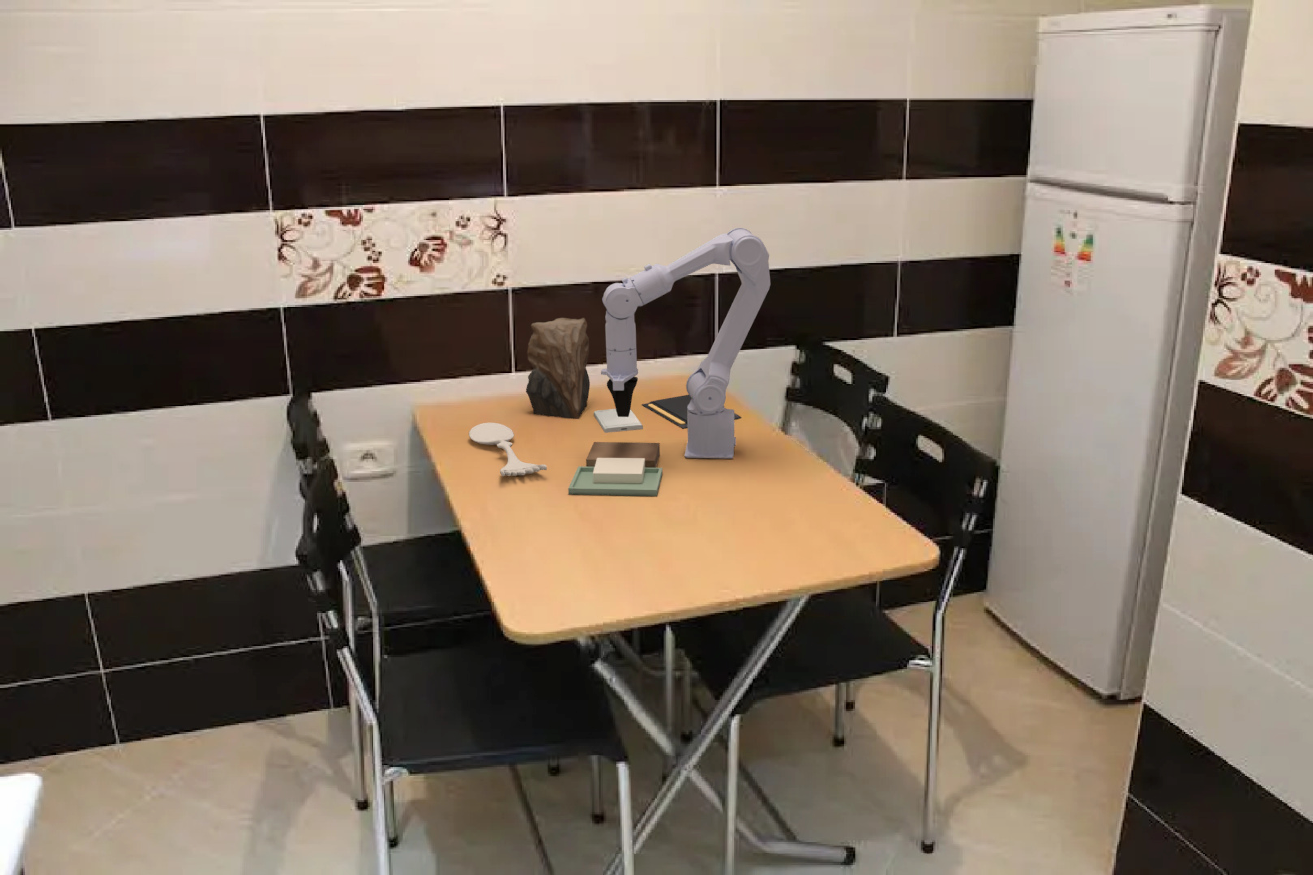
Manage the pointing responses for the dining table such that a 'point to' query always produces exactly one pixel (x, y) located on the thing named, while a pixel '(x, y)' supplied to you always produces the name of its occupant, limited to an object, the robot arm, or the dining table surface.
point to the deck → (624, 452)
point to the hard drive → (617, 421)
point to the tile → (619, 470)
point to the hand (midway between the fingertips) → (623, 415)
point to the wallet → (674, 409)
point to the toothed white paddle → (503, 447)
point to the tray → (615, 484)
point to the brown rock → (559, 368)
